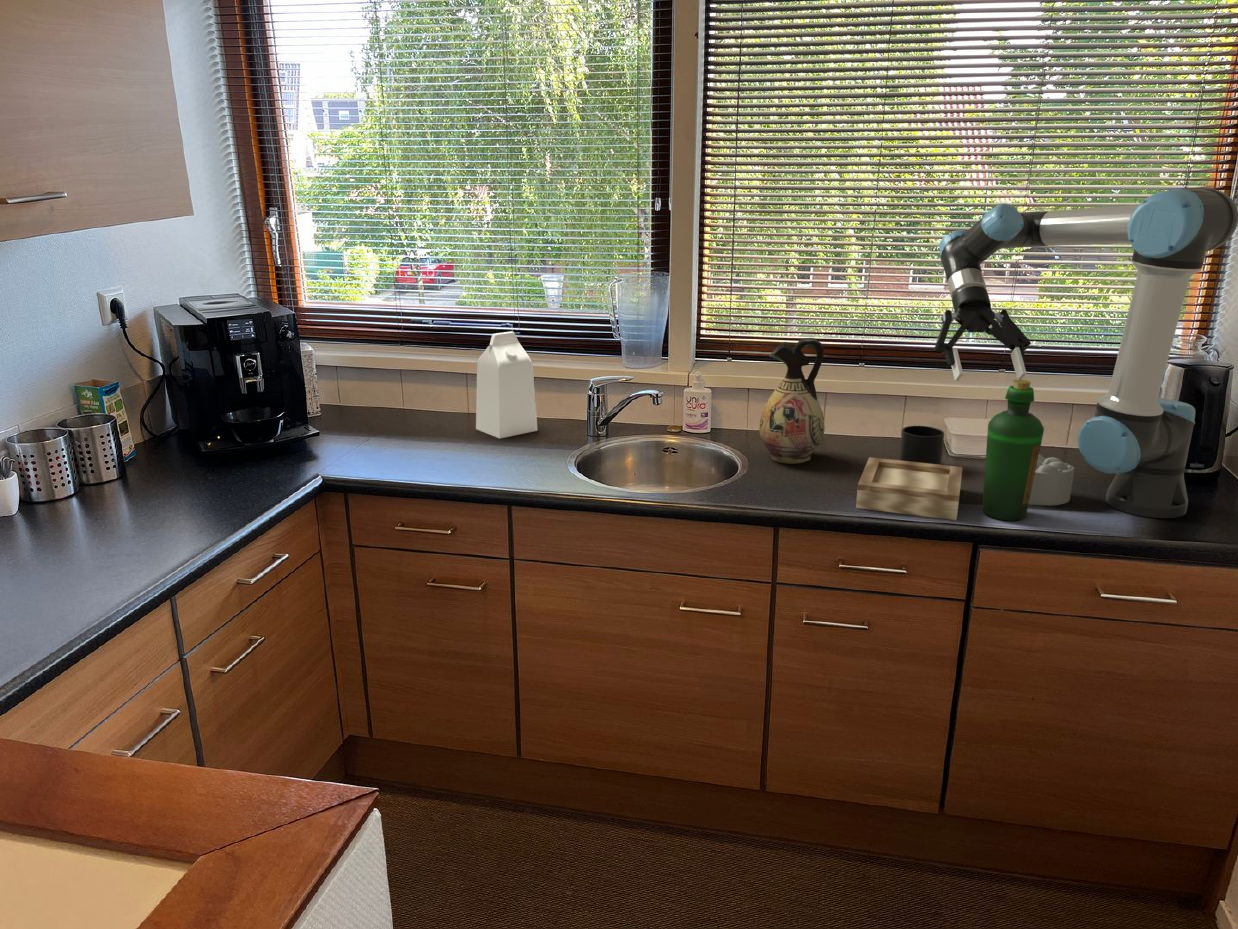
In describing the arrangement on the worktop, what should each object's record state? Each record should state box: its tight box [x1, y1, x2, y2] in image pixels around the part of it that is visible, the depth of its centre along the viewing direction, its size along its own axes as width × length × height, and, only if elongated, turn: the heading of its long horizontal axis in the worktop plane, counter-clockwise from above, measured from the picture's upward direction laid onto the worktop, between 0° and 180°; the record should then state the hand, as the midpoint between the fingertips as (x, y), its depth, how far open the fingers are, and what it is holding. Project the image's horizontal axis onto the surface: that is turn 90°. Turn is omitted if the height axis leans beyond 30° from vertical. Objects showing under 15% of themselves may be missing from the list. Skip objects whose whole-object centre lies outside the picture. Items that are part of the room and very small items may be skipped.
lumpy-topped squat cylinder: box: [1028, 454, 1075, 506], centre depth 207 cm, size 10×13×9 cm
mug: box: [898, 425, 945, 465], centre depth 227 cm, size 9×12×9 cm
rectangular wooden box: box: [855, 456, 964, 521], centre depth 206 cm, size 20×20×5 cm
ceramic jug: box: [758, 337, 825, 465], centre depth 229 cm, size 17×15×30 cm
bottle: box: [981, 379, 1045, 522], centre depth 194 cm, size 11×11×28 cm
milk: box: [475, 331, 538, 439], centre depth 253 cm, size 12×12×26 cm
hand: (990, 377), depth 202 cm, fingers open, 13 cm apart
